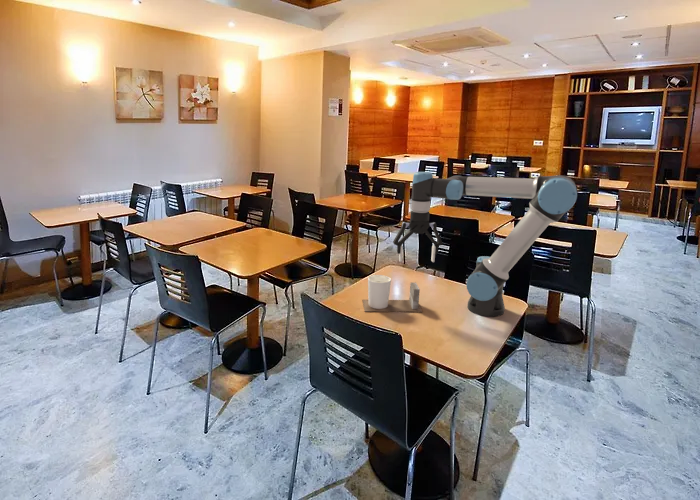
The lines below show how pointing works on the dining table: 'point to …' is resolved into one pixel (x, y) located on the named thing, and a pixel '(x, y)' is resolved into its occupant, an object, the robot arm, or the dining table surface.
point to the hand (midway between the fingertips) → (416, 261)
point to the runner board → (400, 303)
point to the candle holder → (378, 291)
